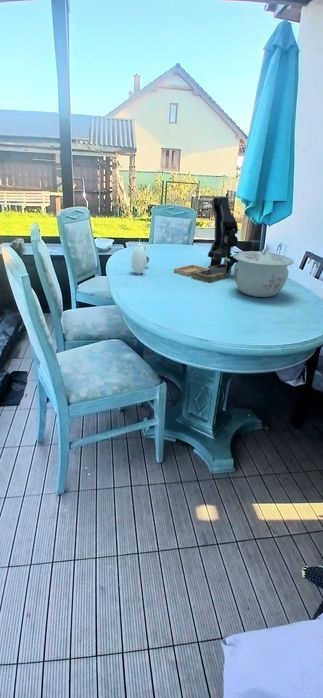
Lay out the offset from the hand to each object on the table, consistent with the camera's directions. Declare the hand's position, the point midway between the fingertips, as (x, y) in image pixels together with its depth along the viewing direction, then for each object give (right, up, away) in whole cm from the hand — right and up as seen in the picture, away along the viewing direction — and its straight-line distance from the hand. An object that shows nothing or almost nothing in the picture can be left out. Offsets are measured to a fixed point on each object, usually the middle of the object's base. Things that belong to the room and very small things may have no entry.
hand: (222, 272), depth 210 cm
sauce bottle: (-46, -2, -7) cm, 47 cm away
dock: (-9, -5, -9) cm, 13 cm away
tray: (-18, 0, +1) cm, 18 cm away
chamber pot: (+12, -16, -29) cm, 35 cm away
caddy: (-2, -2, -1) cm, 3 cm away
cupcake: (-45, +4, +5) cm, 46 cm away
